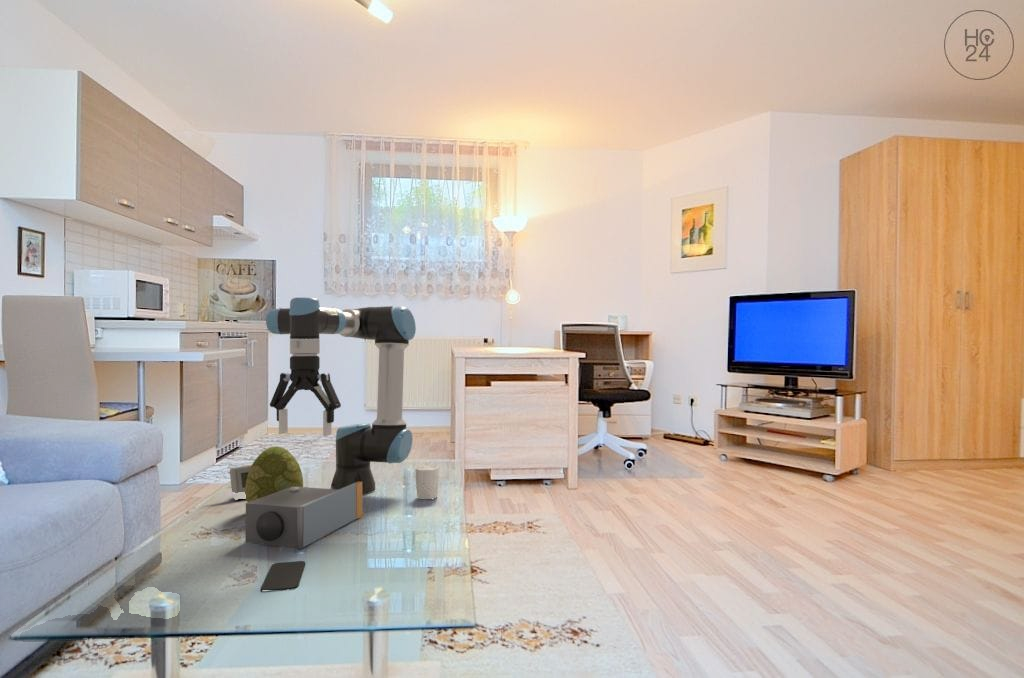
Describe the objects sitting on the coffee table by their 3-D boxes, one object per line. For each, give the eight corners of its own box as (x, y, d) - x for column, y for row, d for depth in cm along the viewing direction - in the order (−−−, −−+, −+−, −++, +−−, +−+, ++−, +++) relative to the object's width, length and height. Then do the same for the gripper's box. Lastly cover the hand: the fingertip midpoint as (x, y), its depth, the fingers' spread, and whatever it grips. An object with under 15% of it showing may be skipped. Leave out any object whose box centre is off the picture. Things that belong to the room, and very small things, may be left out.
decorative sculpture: (269, 523, 164) (269, 453, 164) (233, 515, 172) (233, 448, 173) (314, 509, 178) (314, 444, 179) (279, 502, 186) (279, 440, 187)
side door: (358, 516, 170) (358, 480, 170) (362, 516, 170) (362, 480, 170) (296, 549, 142) (296, 506, 142) (301, 549, 141) (301, 507, 142)
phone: (259, 590, 117) (271, 563, 132) (259, 594, 117) (271, 566, 132) (297, 586, 119) (306, 560, 134) (297, 590, 119) (306, 563, 134)
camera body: (292, 521, 166) (292, 483, 166) (341, 525, 162) (341, 486, 162) (241, 544, 146) (241, 501, 146) (295, 550, 142) (295, 506, 142)
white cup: (437, 500, 188) (437, 470, 188) (413, 500, 188) (413, 470, 188) (440, 494, 196) (440, 465, 196) (417, 494, 196) (417, 465, 196)
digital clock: (231, 502, 187) (231, 469, 187) (227, 496, 194) (227, 465, 195) (284, 495, 196) (284, 464, 196) (278, 490, 203) (278, 460, 204)
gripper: (255, 355, 154) (256, 434, 154) (338, 355, 148) (338, 438, 147) (274, 354, 161) (274, 430, 161) (353, 354, 155) (353, 433, 155)
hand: (305, 434), depth 154 cm, fingers open, 13 cm apart
